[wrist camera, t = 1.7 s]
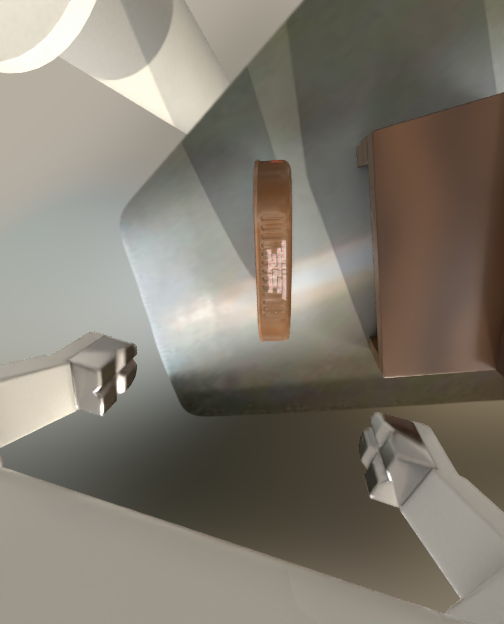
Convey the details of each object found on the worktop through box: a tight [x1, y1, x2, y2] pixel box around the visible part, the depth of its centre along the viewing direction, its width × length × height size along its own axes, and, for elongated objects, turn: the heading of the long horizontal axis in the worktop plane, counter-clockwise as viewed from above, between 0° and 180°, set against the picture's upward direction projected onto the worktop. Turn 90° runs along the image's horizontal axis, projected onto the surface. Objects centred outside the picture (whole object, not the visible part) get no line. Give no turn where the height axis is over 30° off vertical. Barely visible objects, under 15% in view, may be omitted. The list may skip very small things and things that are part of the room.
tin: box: [253, 160, 292, 342], centre depth 22 cm, size 15×3×8 cm, turn 3°
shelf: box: [357, 92, 504, 378], centre depth 20 cm, size 10×20×7 cm, turn 13°
